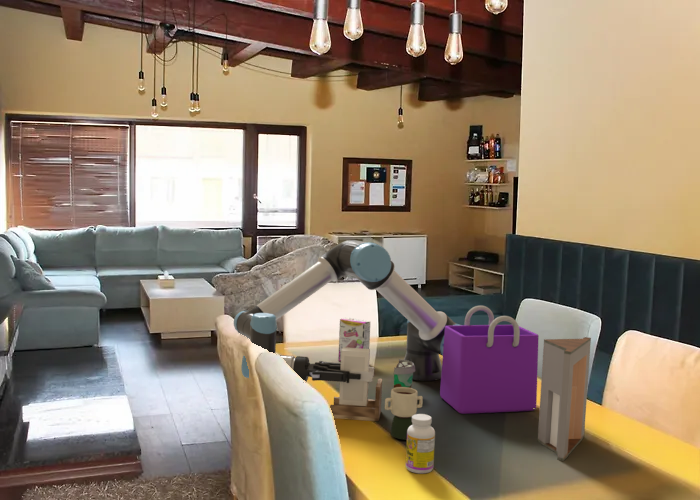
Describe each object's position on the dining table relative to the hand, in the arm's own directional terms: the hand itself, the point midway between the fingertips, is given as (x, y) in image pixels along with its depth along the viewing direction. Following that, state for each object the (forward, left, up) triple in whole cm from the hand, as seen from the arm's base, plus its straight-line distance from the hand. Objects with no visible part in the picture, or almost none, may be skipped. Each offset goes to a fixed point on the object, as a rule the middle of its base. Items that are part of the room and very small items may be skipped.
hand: (373, 374), depth 204 cm
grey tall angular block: (-51, +12, -13) cm, 54 cm away
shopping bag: (-35, -19, -13) cm, 42 cm away
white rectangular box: (+5, 0, -9) cm, 11 cm away
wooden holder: (+5, 0, -12) cm, 13 cm away
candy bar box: (+12, -60, -13) cm, 63 cm away
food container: (-9, -24, -13) cm, 29 cm away
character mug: (-10, +16, -13) cm, 23 cm away
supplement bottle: (-15, +36, -13) cm, 41 cm away
